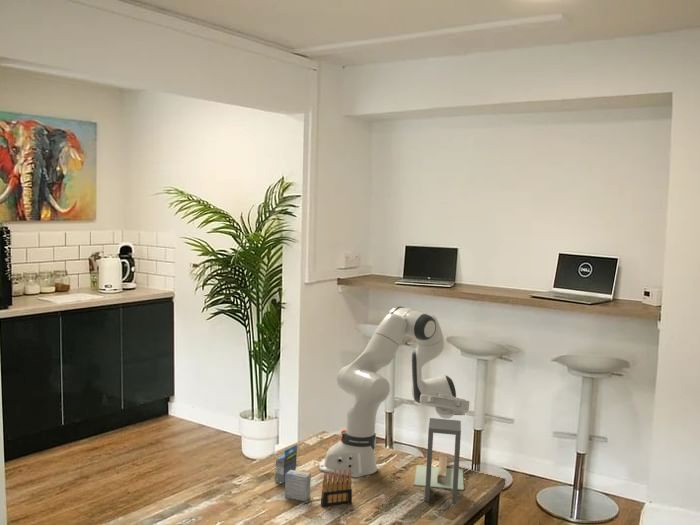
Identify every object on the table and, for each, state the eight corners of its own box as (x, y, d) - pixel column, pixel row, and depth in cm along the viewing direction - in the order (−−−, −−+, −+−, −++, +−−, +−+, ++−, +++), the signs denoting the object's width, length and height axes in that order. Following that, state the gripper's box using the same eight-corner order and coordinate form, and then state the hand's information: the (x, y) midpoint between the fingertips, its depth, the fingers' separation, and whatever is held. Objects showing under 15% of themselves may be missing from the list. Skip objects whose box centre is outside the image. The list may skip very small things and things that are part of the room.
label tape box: (286, 473, 256) (288, 441, 255) (296, 476, 255) (297, 443, 254) (274, 481, 248) (275, 448, 248) (283, 484, 247) (285, 450, 246)
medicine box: (310, 497, 236) (311, 472, 236) (305, 502, 232) (306, 477, 232) (289, 493, 239) (290, 469, 238) (284, 498, 235) (285, 473, 234)
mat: (413, 485, 251) (414, 484, 250) (416, 465, 270) (416, 464, 270) (463, 490, 248) (463, 489, 248) (462, 470, 268) (462, 469, 268)
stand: (424, 501, 237) (428, 428, 235) (426, 487, 249) (429, 418, 247) (456, 504, 235) (460, 430, 234) (456, 490, 247) (460, 420, 245)
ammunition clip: (349, 501, 234) (351, 467, 234) (351, 503, 233) (353, 469, 232) (320, 505, 230) (322, 470, 229) (322, 507, 229) (323, 472, 228)
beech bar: (437, 482, 253) (437, 474, 253) (439, 463, 273) (439, 456, 273) (445, 483, 253) (445, 475, 252) (446, 464, 272) (447, 457, 272)
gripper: (421, 393, 289) (419, 388, 276) (470, 400, 285) (470, 395, 272) (419, 408, 287) (417, 404, 274) (468, 416, 283) (468, 411, 270)
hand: (443, 400), depth 273 cm, fingers open, 8 cm apart
